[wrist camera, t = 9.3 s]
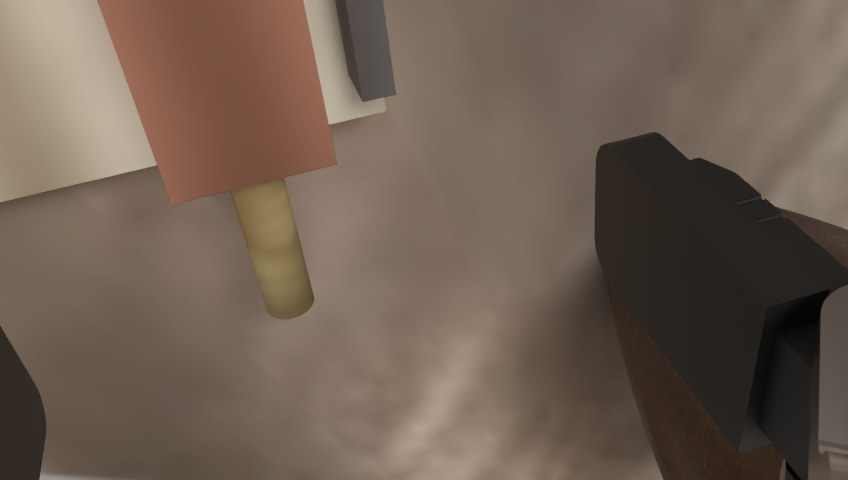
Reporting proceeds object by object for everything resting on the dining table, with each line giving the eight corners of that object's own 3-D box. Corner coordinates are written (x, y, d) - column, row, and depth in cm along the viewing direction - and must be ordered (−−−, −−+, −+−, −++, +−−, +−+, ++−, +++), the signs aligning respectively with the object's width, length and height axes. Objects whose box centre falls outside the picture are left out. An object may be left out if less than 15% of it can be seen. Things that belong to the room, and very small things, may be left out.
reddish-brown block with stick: (241, -189, 20) (272, -149, 15) (328, 205, 27) (368, 315, 22) (77, -162, 19) (57, -111, 15) (211, 235, 26) (226, 355, 22)
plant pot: (697, 46, 31) (1070, 290, 19) (874, 196, 39) (1219, 438, 27) (471, 319, 36) (647, 659, 24) (669, 403, 44) (881, 691, 31)
